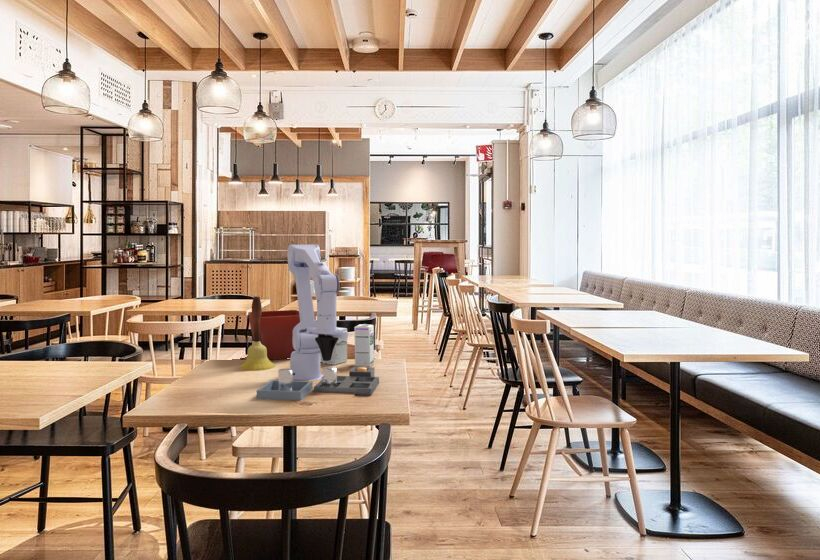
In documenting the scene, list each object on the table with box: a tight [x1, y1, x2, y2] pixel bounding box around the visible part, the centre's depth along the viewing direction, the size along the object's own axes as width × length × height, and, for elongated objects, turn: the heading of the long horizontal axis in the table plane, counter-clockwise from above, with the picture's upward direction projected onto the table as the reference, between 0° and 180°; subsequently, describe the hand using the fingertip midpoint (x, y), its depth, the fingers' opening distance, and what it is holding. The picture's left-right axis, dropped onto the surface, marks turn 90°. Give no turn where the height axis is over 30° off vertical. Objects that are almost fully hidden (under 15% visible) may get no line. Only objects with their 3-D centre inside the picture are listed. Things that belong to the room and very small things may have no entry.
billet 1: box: [277, 368, 294, 391], centre depth 175 cm, size 4×4×7 cm
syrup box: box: [353, 323, 375, 367], centre depth 218 cm, size 6×6×14 cm
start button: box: [357, 366, 367, 371], centre depth 197 cm, size 3×3×3 cm
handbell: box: [239, 296, 276, 372], centre depth 213 cm, size 12×12×25 cm
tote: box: [256, 379, 314, 402], centre depth 175 cm, size 13×13×3 cm
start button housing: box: [348, 366, 375, 377], centre depth 197 cm, size 7×7×3 cm
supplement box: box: [320, 326, 348, 366], centre depth 222 cm, size 7×7×13 cm
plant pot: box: [247, 309, 300, 361], centre depth 232 cm, size 19×19×17 cm
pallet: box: [313, 375, 380, 396], centre depth 184 cm, size 17×15×2 cm
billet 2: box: [322, 366, 338, 387], centre depth 181 cm, size 4×4×7 cm
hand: (326, 360), depth 180 cm, fingers closed
